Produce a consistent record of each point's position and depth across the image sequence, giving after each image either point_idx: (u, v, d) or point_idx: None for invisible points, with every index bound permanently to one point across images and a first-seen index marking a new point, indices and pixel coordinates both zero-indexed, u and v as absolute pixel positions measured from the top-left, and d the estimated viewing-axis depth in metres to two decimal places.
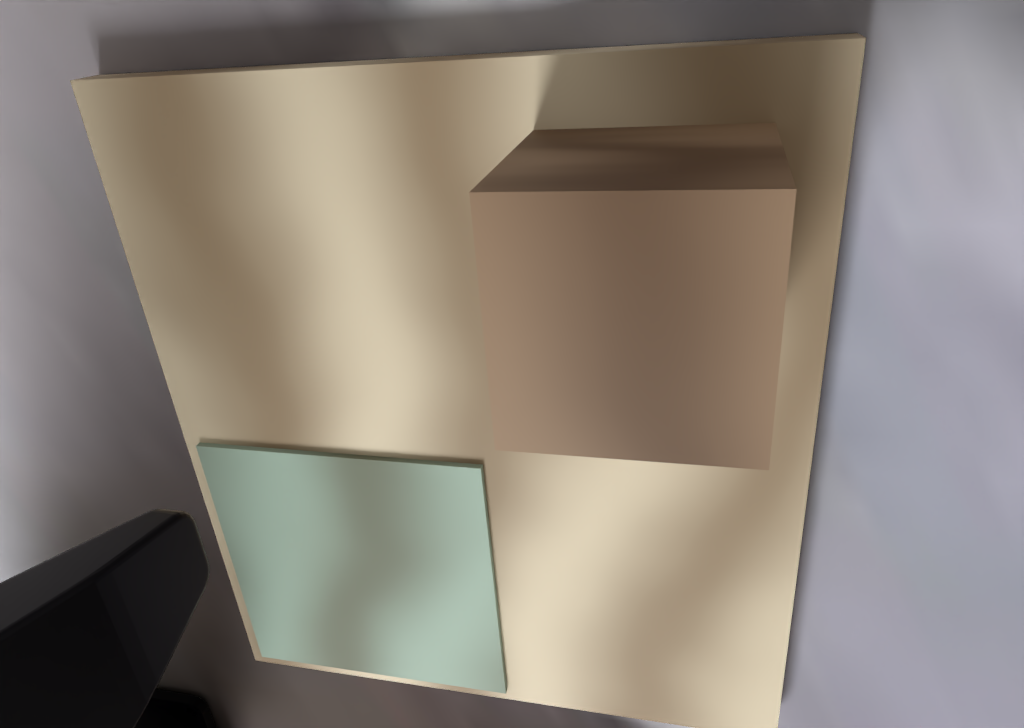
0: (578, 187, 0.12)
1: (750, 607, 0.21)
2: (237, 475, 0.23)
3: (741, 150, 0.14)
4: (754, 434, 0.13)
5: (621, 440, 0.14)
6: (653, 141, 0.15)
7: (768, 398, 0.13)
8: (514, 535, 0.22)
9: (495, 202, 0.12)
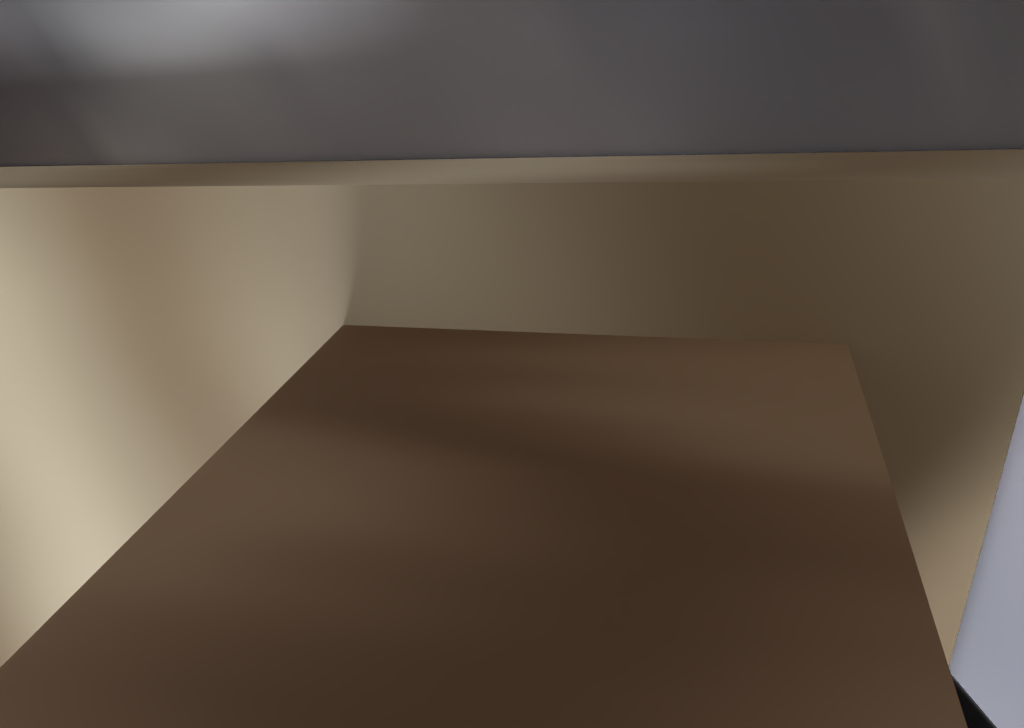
0: None
1: None
2: None
3: (782, 503, 0.05)
4: None
5: None
6: (567, 415, 0.06)
7: None
8: None
9: None
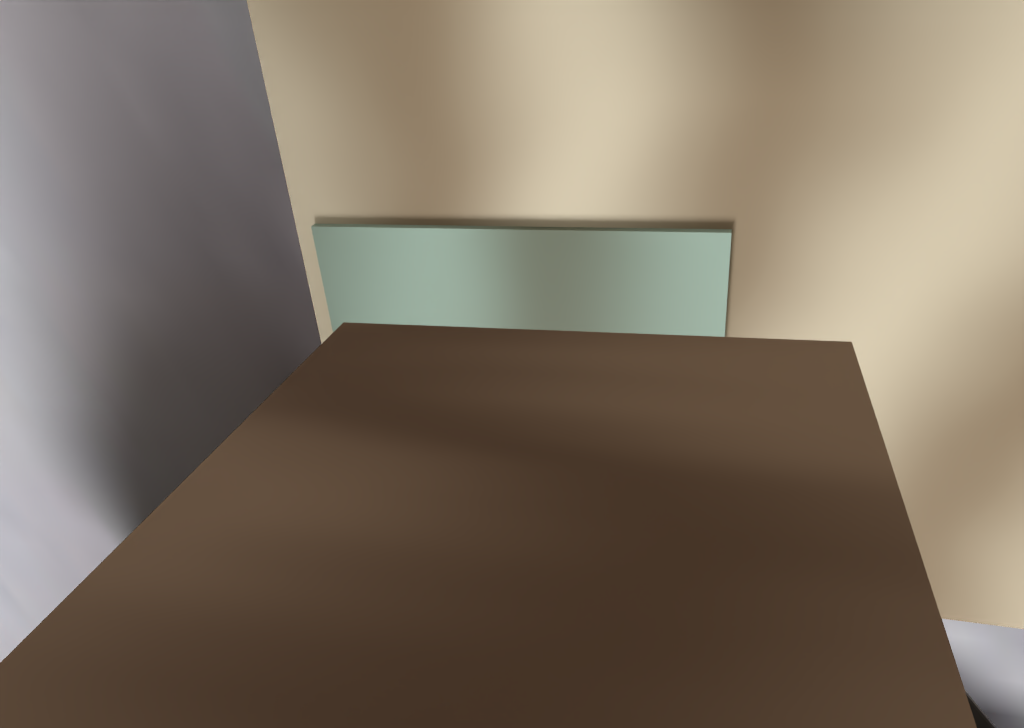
0: None
1: None
2: (366, 269, 0.17)
3: (787, 501, 0.05)
4: None
5: None
6: (569, 413, 0.06)
7: None
8: None
9: None
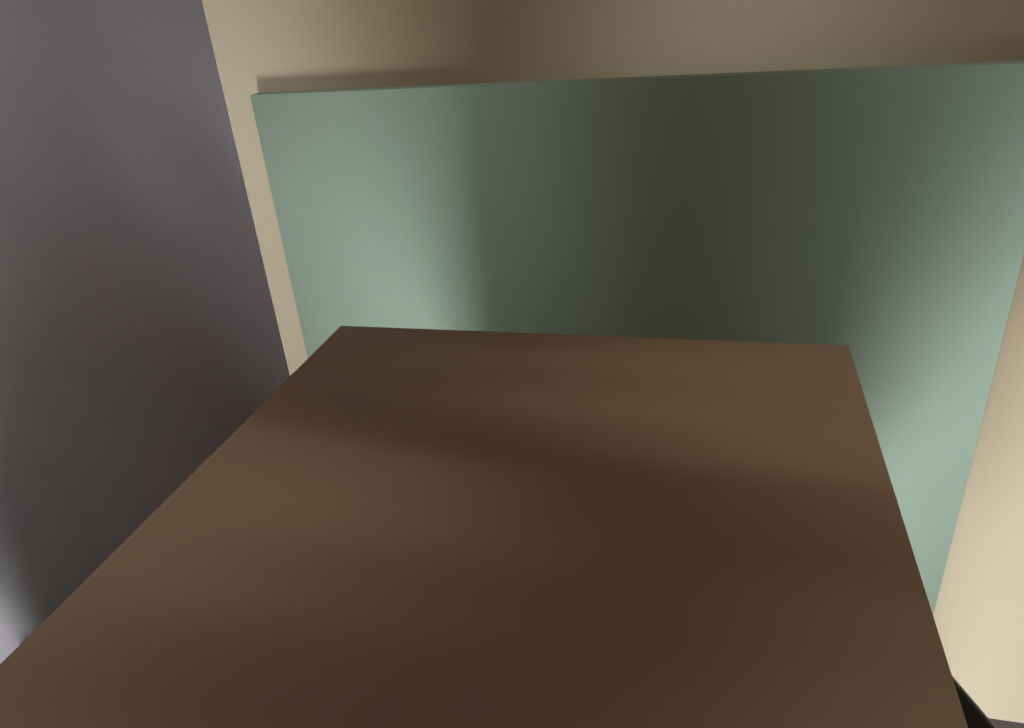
0: None
1: None
2: (349, 171, 0.10)
3: (782, 506, 0.05)
4: None
5: None
6: (566, 418, 0.06)
7: None
8: None
9: None
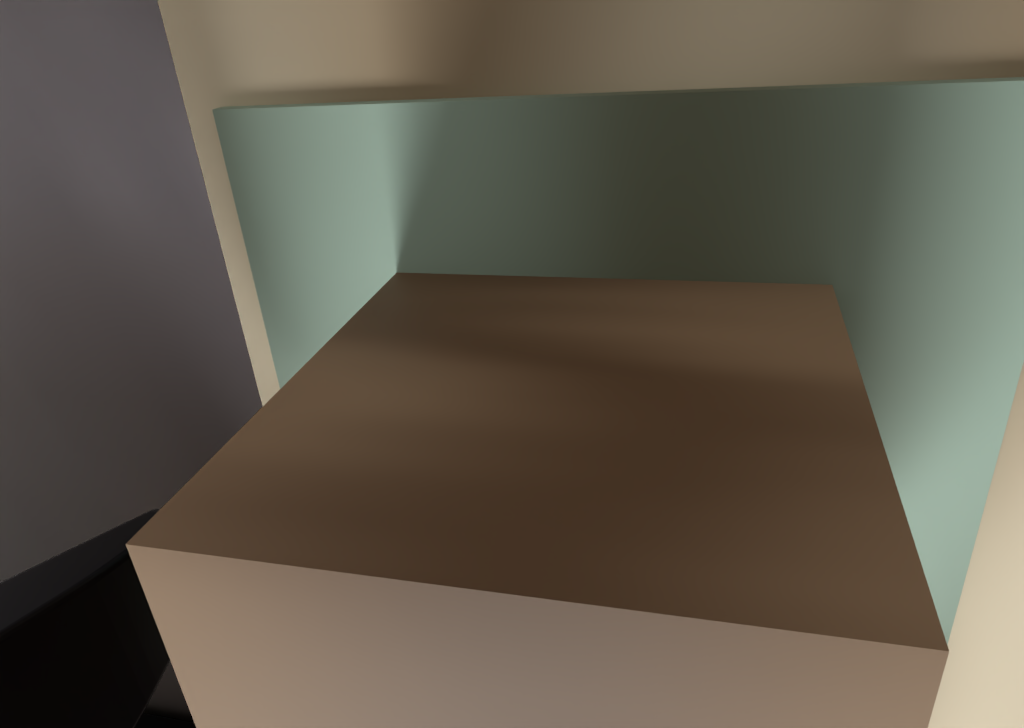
0: (379, 551, 0.05)
1: None
2: (319, 191, 0.09)
3: (775, 393, 0.06)
4: None
5: None
6: (597, 337, 0.07)
7: None
8: None
9: (186, 571, 0.05)
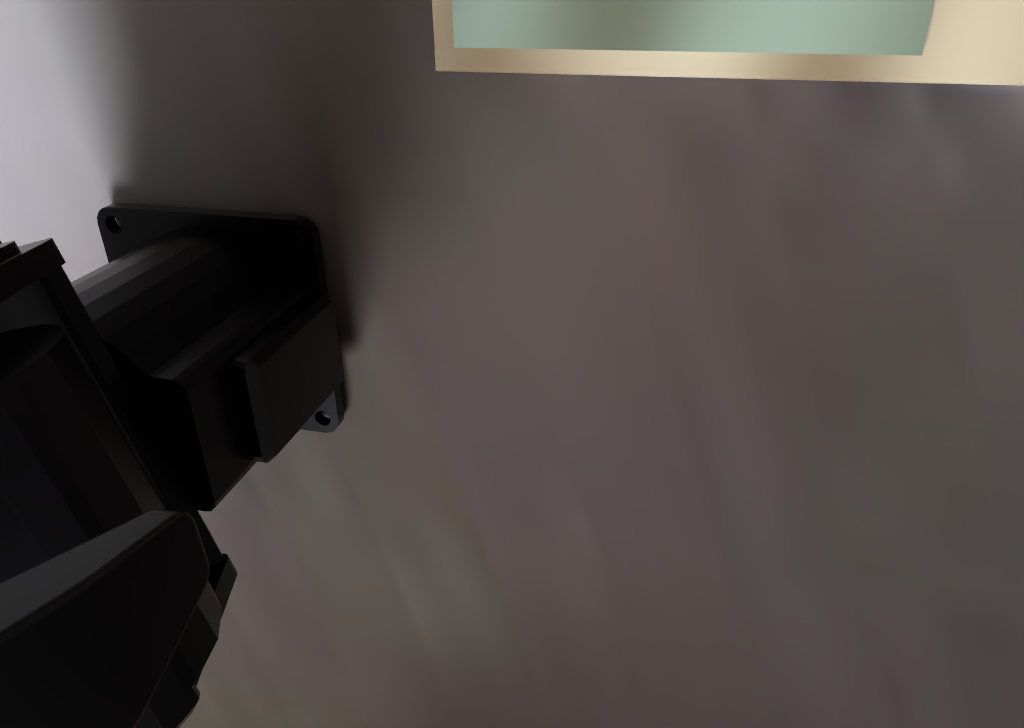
0: None
1: None
2: None
3: None
4: None
5: None
6: None
7: None
8: None
9: None
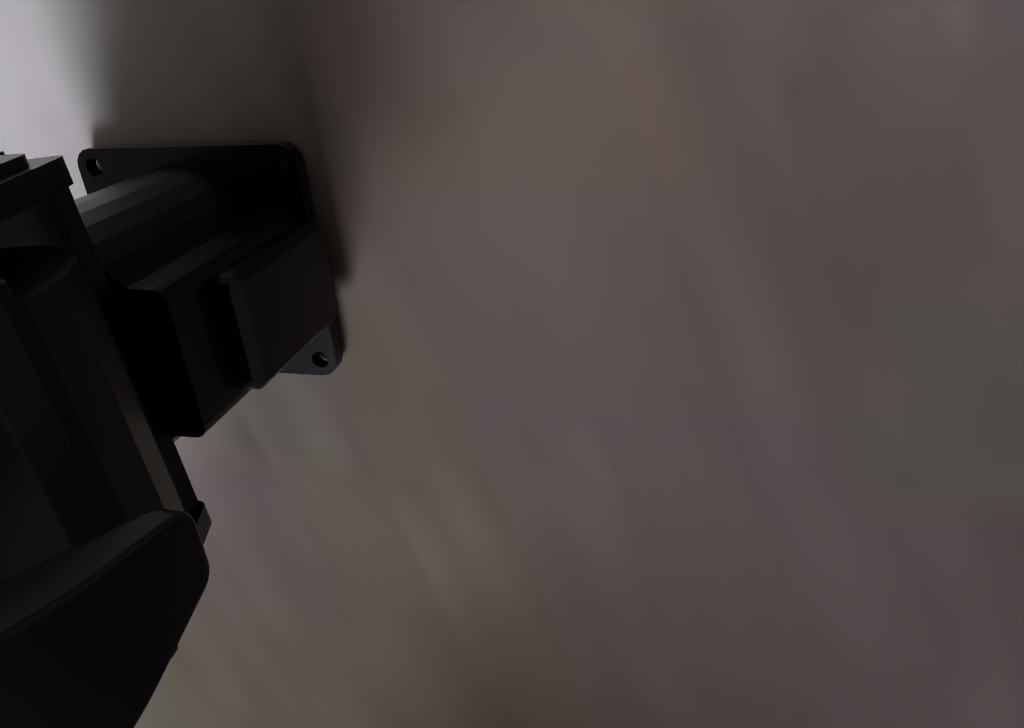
0: None
1: None
2: None
3: None
4: None
5: None
6: None
7: None
8: None
9: None
